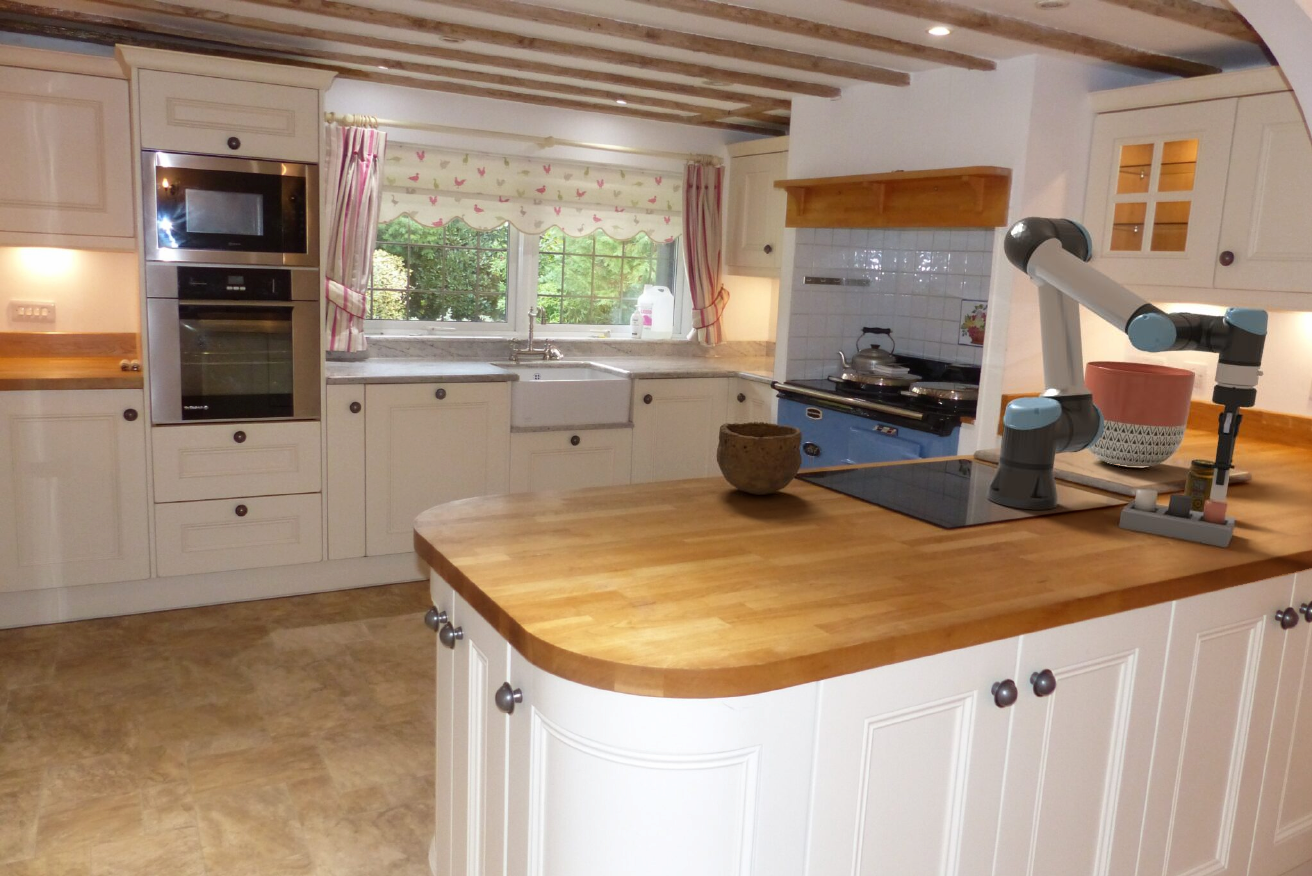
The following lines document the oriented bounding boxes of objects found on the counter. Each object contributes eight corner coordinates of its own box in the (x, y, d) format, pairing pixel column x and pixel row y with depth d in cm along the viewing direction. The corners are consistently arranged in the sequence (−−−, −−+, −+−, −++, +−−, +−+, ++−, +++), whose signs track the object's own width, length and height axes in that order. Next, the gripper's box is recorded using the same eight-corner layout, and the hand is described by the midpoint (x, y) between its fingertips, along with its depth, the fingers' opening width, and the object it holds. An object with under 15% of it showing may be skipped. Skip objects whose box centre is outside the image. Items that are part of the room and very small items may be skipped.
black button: (1166, 514, 210) (1169, 496, 209) (1169, 511, 213) (1172, 492, 213) (1187, 518, 208) (1190, 499, 207) (1190, 514, 211) (1193, 496, 210)
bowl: (702, 496, 220) (706, 429, 217) (729, 478, 237) (733, 416, 234) (785, 508, 213) (791, 439, 210) (807, 489, 230) (812, 426, 227)
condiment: (1219, 515, 226) (1228, 463, 224) (1199, 519, 222) (1207, 466, 219) (1187, 507, 232) (1196, 456, 230) (1167, 511, 228) (1175, 459, 225)
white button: (1132, 508, 214) (1135, 490, 213) (1135, 505, 217) (1138, 487, 216) (1153, 512, 212) (1156, 494, 211) (1156, 508, 215) (1159, 490, 214)
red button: (1201, 521, 207) (1204, 502, 206) (1203, 517, 210) (1206, 498, 209) (1223, 524, 204) (1226, 505, 204) (1225, 521, 208) (1228, 502, 207)
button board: (1119, 527, 212) (1121, 510, 211) (1129, 515, 222) (1131, 500, 221) (1226, 547, 201) (1229, 530, 200) (1232, 534, 211) (1235, 518, 210)
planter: (1062, 464, 272) (1076, 365, 267) (1085, 450, 294) (1098, 358, 289) (1171, 482, 258) (1187, 378, 252) (1186, 466, 279) (1201, 369, 274)
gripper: (1254, 390, 194) (1235, 509, 199) (1259, 384, 205) (1241, 497, 209) (1210, 386, 198) (1192, 502, 203) (1218, 380, 209) (1201, 490, 213)
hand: (1217, 499), depth 206 cm, fingers closed
